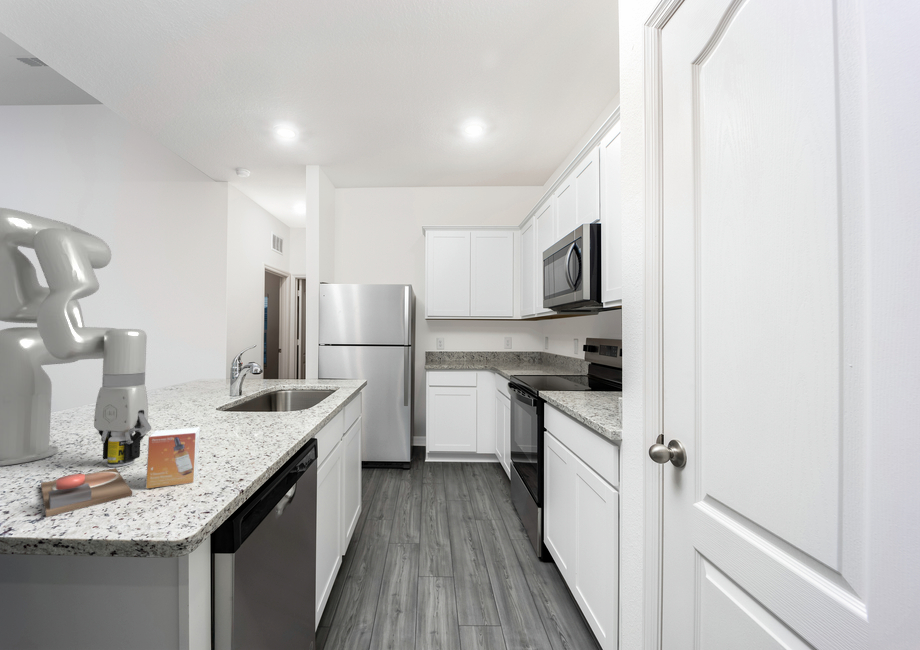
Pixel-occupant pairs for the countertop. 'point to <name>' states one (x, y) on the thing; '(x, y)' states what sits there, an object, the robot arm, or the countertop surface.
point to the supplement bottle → (117, 450)
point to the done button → (70, 481)
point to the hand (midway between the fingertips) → (121, 457)
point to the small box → (172, 457)
